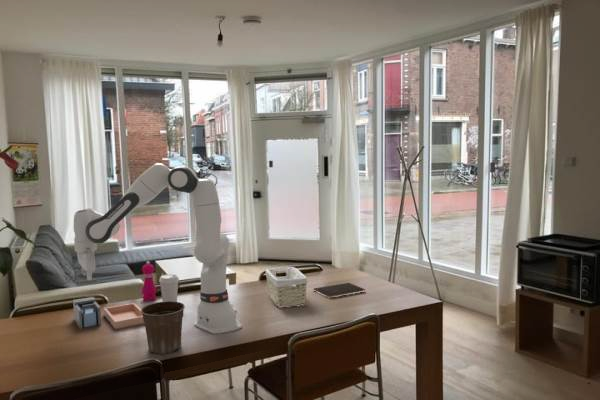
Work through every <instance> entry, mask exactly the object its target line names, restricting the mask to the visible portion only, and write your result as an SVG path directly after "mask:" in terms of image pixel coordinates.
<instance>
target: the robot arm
mask: <svg viewBox="0 0 600 400" xmlns="http://www.w3.org/2000/svg"><path fill="white" fill-rule="evenodd" d="M197 173H198V172H197V171H196V170H195V169H194V168H193V167H191V166H187V165H179V166H174V167H173V168H169V167H168V166H167V165H165V164H164V163H160V162H156V163H154V164H153V165H152V166H150V167H148V168H147V169H146V170H144V171H143V172H142V173H141V174H140V175H139V176H138V177H137V178H136V179H135V180H134V181H133V183H132V184H131V185H130V186H129V187H128V189H127V190H126V192H125V193H124V194H123V196H122V197H121V198H120V199H119V200H118V202H116V203H115V204H114V205H113V206H112V207H111V208H110V209H109V210H108V211H107V212H105V213H104V214H103V213H101V212H99V211H96V210H95V209H93V208H84V209H80V210H77V211H76V212H74V215H73V232H74V239H73V241H74V252H76V255H77V262H78V264H79V265H80V266H81V271H82V275H83V276H84V277H86V281H92V279H93V272H95V271H96V256H95V251H97V250H98V244H99V245H100V244H103V243H105V242H107V241H108V240H109V239H111V238H113V237H114V236H115V235H117V234H118V232H119V230H120V222H121V221H122V220H123V219H124V218H126V216H128V215H129V214H130V213H131V212H132V211H135V210H137V209H138V208H140V207H143V206H145V205H147V204H149V202H151V201H153V199H155V198H156V197H157V196H158V195H159V194H160V193H161V192H163V190H164V189H166V188H167V187H170V188H171V189H173V190H174V191H176V192H179V193H187V194H190V195H191V198H192V203H193V211H194V218H195V246H194V249H193V253H194V257H195V259H196V260H197V261H198V262H199V263H202V267H201V271H200V291H199V299H200V302H199V304H198V305H197V308H196V309H197V311H196V312H197V313H196V321H194V324H193V326H194V327H197V328H199V329H201V330H202V331H203V330H204V331H205V332H207V333H209V334H213V335H215V334H217V335H218V334H225V333H229V332H233V331H236V330H240V329H241V328H242V327H243V326H242V323H241V322H240V321H239V320H238V319H237V318H236V317H237V314H238V310H237V309H236V308H233V304H232V303H231V302H230V300H229V292H228V289H227V267H228V266H227V265H228V260H229V259H228V258H229V249H230V240H229V237H228V236H227V235H226V234H224V233H221V227H222V226H221V225H222V213H221V206H220V200H219V199H220V198H219V195H218V191H217V188H216V185H215V182H214V180H212V179H209V178H200V177H199V176H198V174H197Z"/></svg>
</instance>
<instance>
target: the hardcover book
mask: <svg viewBox="0 0 600 400" xmlns="http://www.w3.org/2000/svg"><path fill="white" fill-rule="evenodd" d="M313 289H314V290H316V291H318V292H320V293H322V294H324V295H326V296H327V297H333V296H338V295H343V294H348V293H353V292H359V291H363V290H364V291H366V288H362V287H360V286H358V285H355V284H353V283H351V282H344V283H339V284H333V285H326V286H321V287H320V286H319V287H314V288H313Z"/></svg>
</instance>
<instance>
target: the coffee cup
mask: <svg viewBox="0 0 600 400" xmlns="http://www.w3.org/2000/svg"><path fill="white" fill-rule="evenodd" d="M179 281H180V278H179V276H178V274H175V273H171V274H170V273H169V274H163V275H161V276H160V278H159V280H158V282H159V284H160V290H161V291H160V292H161V302H166V301H175V302H178V290H179V289H178V287H179Z"/></svg>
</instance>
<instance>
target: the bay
mask: <svg viewBox="0 0 600 400" xmlns="http://www.w3.org/2000/svg"><path fill="white" fill-rule="evenodd" d="M94 303H95V312H96V324H97V323H98V324H97V326H101V325H102V318H101V317H102V315H101V314H102V313H101V306H100V305H99V304H98V302H97V301H96V298H95V297H94V296H90V297H85V298H78V299H73V300H72V304H73V319H74V322H75V323H76V325H77V326H78V328H79V330H82V329H83V325H82V310H81V309H80V307H81V306H82V305H88V304H94ZM92 308H93V307H92Z"/></svg>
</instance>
